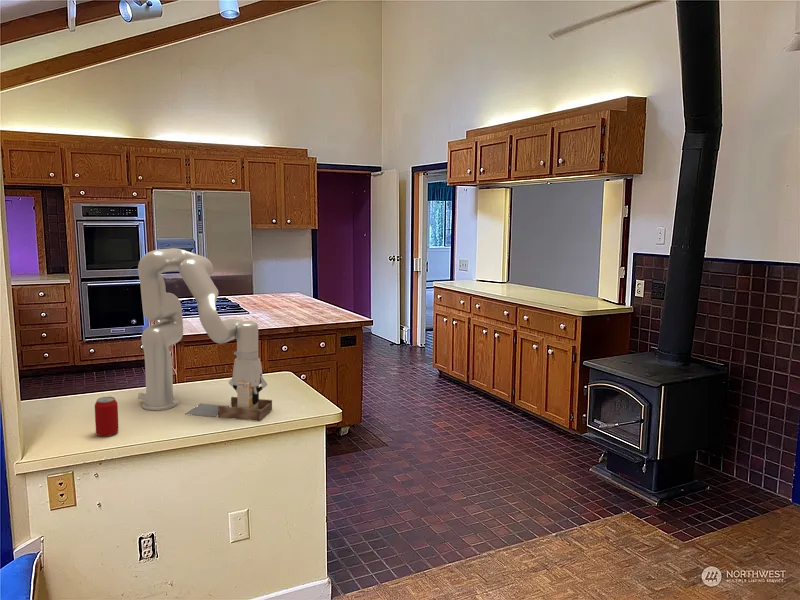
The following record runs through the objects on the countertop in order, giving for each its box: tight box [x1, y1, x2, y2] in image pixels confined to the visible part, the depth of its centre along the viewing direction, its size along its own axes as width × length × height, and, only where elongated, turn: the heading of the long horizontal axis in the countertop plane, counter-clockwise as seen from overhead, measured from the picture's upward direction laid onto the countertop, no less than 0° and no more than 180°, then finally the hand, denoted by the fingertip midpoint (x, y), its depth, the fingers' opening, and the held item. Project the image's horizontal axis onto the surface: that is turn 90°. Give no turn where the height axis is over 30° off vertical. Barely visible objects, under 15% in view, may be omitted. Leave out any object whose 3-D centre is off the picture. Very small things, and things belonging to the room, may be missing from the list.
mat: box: [184, 402, 230, 418], centre depth 220 cm, size 12×12×1 cm
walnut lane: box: [217, 396, 273, 422], centre depth 218 cm, size 16×12×4 cm
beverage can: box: [94, 396, 119, 437], centre depth 194 cm, size 7×7×12 cm
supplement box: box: [236, 382, 258, 409], centre depth 217 cm, size 8×5×13 cm, turn 168°
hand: (248, 402), depth 217 cm, fingers closed on supplement box, 4 cm apart
